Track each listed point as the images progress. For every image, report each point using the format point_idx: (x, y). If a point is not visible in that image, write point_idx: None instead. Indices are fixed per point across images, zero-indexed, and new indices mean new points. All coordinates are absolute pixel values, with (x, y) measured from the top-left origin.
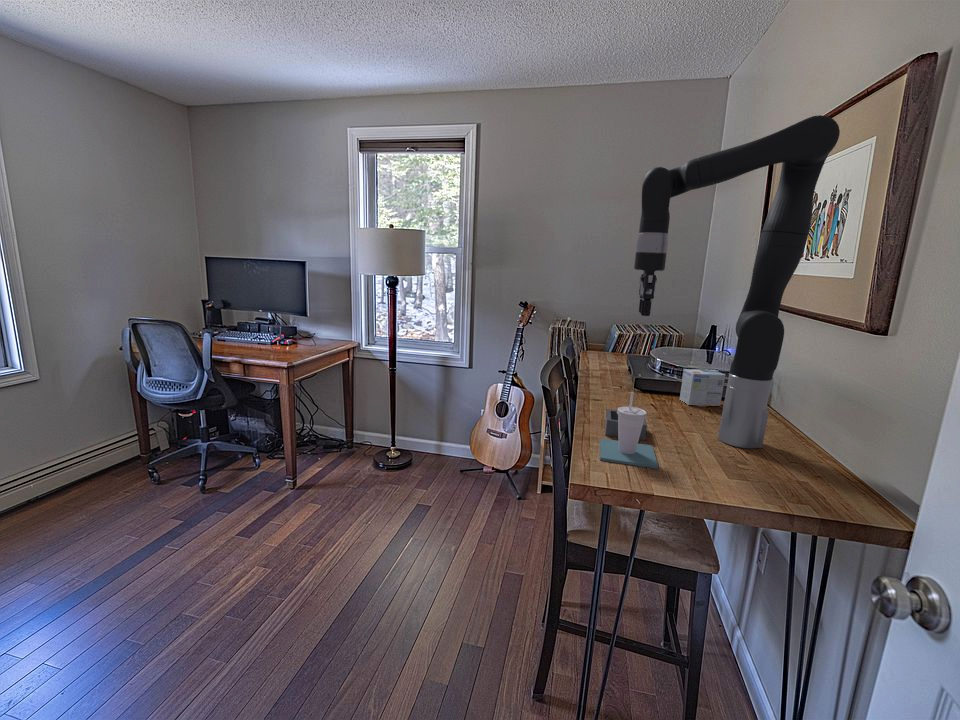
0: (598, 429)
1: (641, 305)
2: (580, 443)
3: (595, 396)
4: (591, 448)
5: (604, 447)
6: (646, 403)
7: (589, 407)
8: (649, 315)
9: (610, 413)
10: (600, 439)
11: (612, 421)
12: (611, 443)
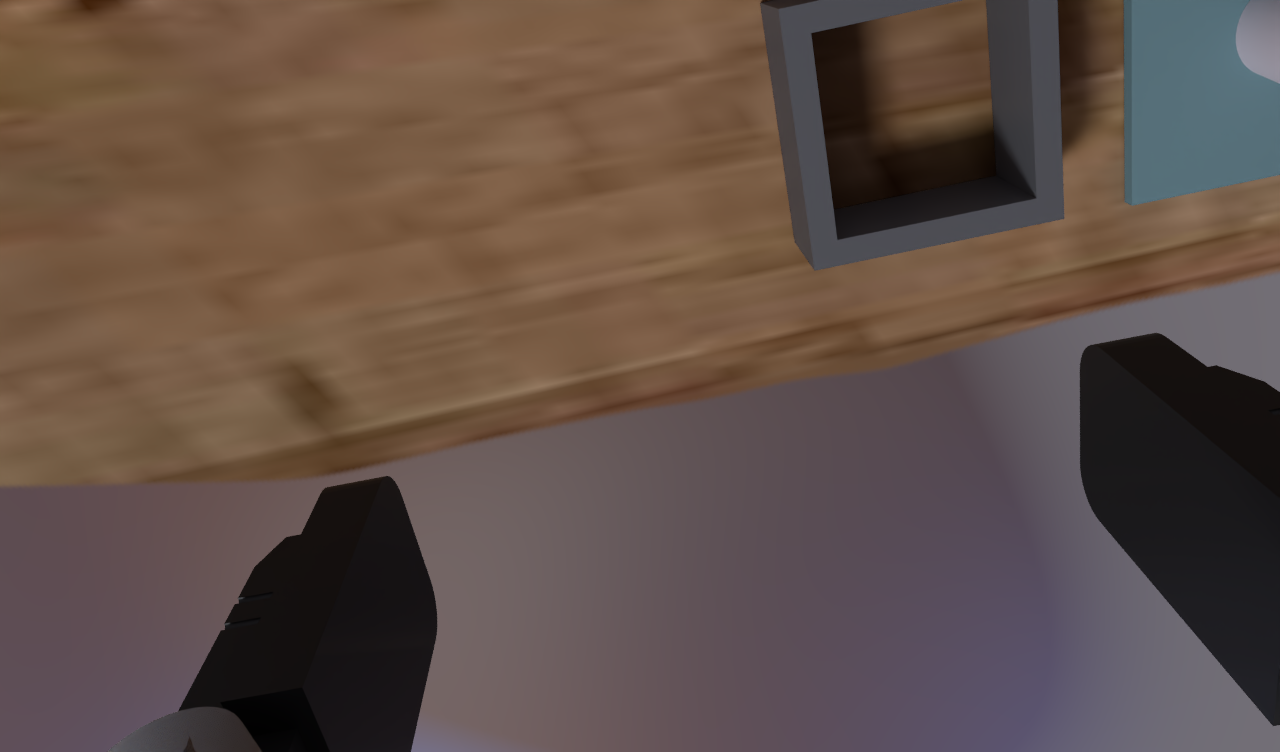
0: (935, 250)
1: (402, 697)
2: (1210, 285)
3: (225, 422)
4: (1263, 217)
5: (1272, 154)
6: (94, 50)
7: (524, 395)
8: (1151, 334)
9: (907, 227)
10: (1152, 200)
11: (1060, 183)
12: (1193, 130)
